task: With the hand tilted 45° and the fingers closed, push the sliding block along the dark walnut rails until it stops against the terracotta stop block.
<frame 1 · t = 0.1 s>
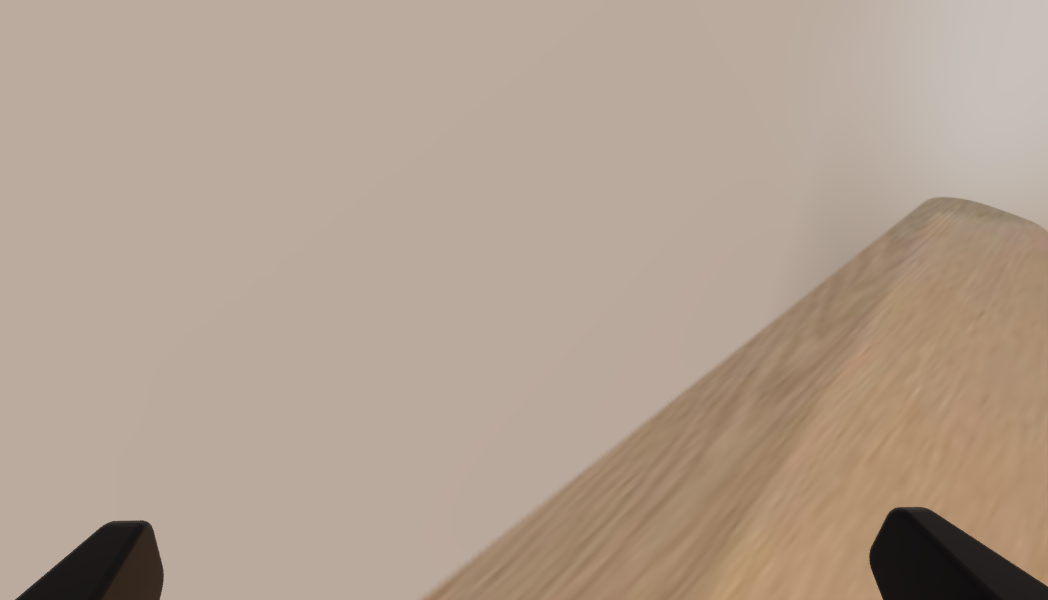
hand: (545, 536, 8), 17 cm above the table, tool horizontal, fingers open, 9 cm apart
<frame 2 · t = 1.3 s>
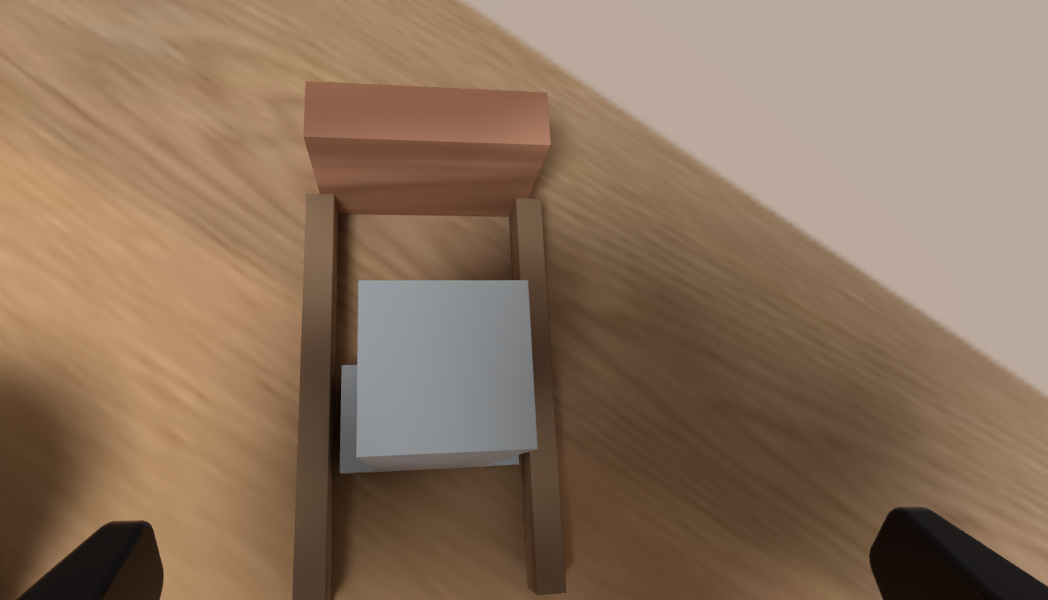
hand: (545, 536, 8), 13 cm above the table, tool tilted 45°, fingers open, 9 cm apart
sliding block: (435, 398, 16), point 5 cm above the table, slide at 0.0 cm
guide track: (427, 339, 21), on the table
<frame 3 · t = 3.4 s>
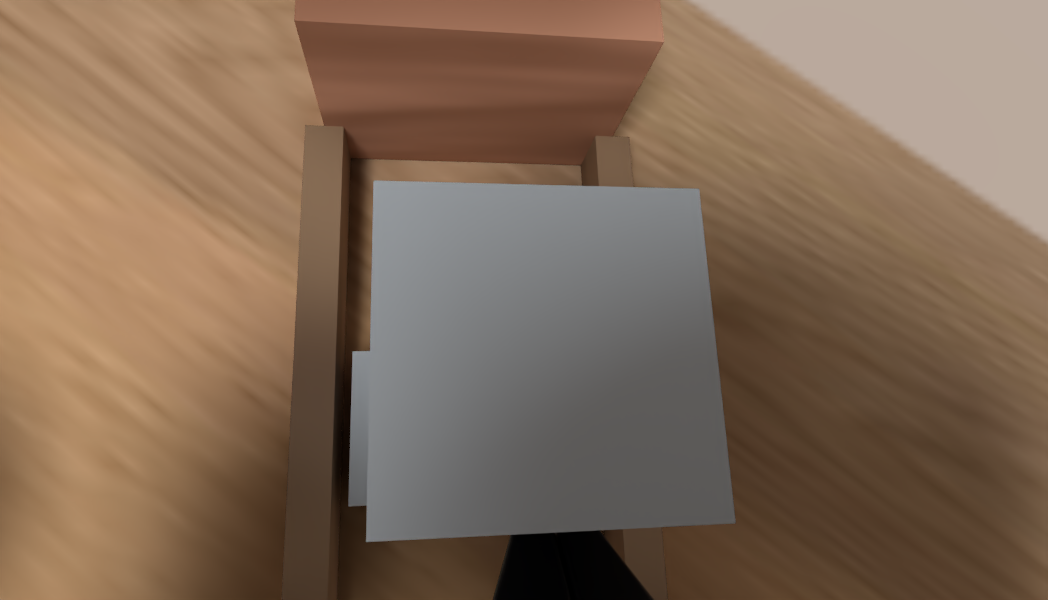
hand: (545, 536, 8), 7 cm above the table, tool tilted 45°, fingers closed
sliding block: (495, 404, 10), point 5 cm above the table, slide at 0.3 cm, touching gripper
guide track: (471, 330, 15), on the table
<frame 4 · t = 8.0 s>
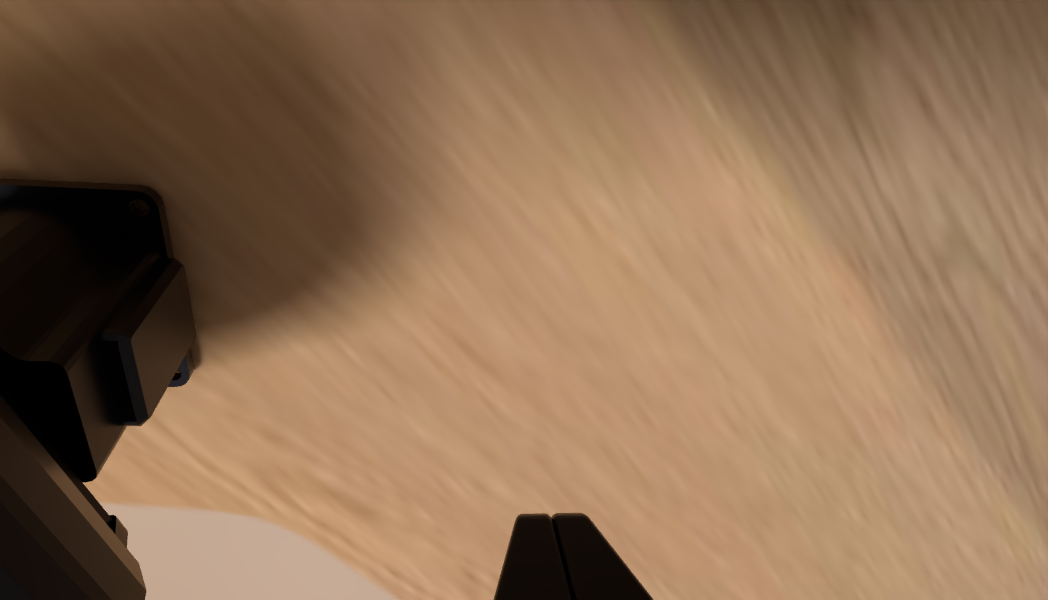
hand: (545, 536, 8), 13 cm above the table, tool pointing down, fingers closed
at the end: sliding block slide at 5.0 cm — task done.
